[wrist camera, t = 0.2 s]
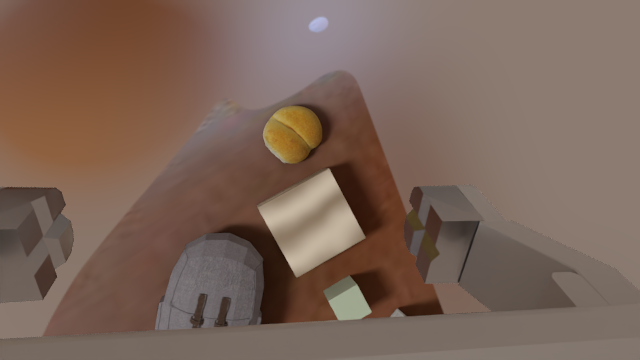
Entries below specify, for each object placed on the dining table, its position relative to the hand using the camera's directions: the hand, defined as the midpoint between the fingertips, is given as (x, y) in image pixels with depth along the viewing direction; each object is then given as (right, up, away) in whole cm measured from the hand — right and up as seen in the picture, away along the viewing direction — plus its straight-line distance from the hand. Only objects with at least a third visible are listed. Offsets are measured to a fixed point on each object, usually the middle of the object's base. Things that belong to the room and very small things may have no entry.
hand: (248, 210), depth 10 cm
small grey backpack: (-14, -17, +53) cm, 58 cm away
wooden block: (0, -5, +55) cm, 55 cm away
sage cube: (+6, -18, +56) cm, 59 cm away
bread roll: (-3, +8, +54) cm, 55 cm away
